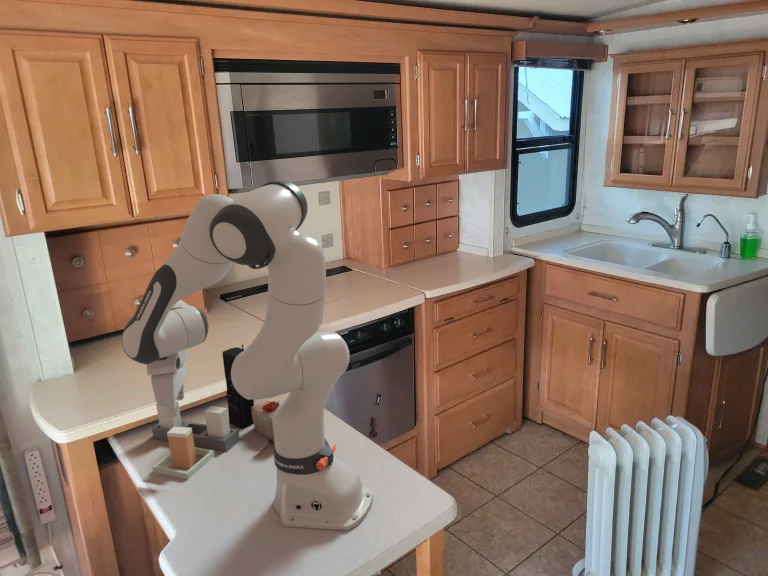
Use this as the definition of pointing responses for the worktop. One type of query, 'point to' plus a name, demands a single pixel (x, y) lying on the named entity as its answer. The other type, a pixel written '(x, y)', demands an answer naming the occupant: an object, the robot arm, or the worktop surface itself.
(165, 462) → the tray
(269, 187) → the robot arm
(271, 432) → the food item
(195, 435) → the fuse block
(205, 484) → the worktop surface
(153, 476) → the worktop surface
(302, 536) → the worktop surface
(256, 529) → the worktop surface
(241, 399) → the portable radio
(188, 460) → the block
